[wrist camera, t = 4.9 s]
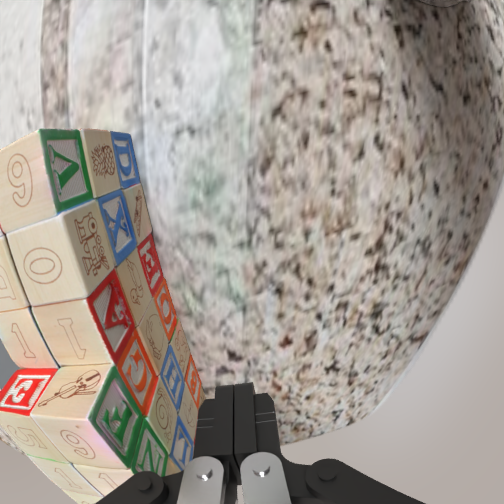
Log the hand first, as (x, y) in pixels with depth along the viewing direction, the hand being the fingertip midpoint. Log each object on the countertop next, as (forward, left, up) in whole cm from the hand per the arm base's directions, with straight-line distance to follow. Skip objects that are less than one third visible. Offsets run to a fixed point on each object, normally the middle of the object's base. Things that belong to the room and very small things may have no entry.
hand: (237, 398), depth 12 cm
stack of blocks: (+7, -1, -9) cm, 12 cm away
